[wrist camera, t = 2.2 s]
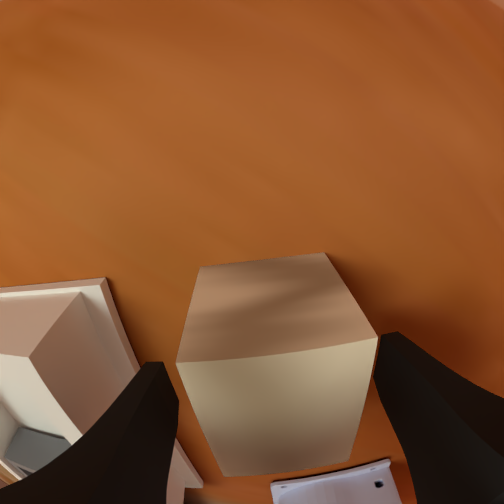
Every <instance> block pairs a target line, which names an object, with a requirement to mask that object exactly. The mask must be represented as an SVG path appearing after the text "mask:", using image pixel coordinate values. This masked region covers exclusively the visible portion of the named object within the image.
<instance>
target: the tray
mask: <svg viewBox="0 0 504 504" xmlns="http://www.w3.org/2000/svg"><path fill="white" fill-rule="evenodd" d="M70 446H72V445H71V444H70V443H69V442H68V440H64V439H59V438H55V437H52V436H48V435H44V434H41V433H37V432H34V431H30V430H27V429H24V428H21V427H18V429H17V431H16V433H15V435H14V437H13V439H12V441H11V443H10V445H9V447H8V449H7V451H6V454H5V456H4V458H5V459H6V460H7V461H8V462H9V463H11V464H12V465H13V466H14V467H15V468H16V469H17V470H18V471H19V472H21V473H22V474H23V475H24V476H25V477H27V476H29V475H31V474H32V473H34V472H36V471H37V470H39V469H41V468H42V467H44V466H45V465H47V464H48V463H50V462H51V461H52V460H54V459H55V458H56V457H58V456H59V455H60V454H62V453H63V452H64V451H66V450H67V449H68V448H69V447H70Z"/></svg>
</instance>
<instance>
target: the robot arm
mask: <svg viewBox="0 0 504 504" xmlns="http://www.w3.org/2000/svg"><path fill="white" fill-rule="evenodd" d="M373 378H374V381H375V384H376V388H377V391H378V394H379V397H380V400H381V403H382V405H383V407H384V409H385V411H386V413H387V416H388V418H389V420H390V422H391V424H392V426H393V429H394V431H395V433H396V435H397V437H398V440H399V442H400V444H401V446H402V448H403V451H404V454H405V456H406V459H407V463H408V466H409V470H410V473H411V477H412V481H413V485H414V489H415V494H416V498H417V504H504V398H502V397H499V396H497V395H495V394H493V393H491V392H489V391H487V390H485V389H483V388H481V387H479V386H477V385H475V384H473V383H472V382H470V381H468V380H467V379H465V378H463V377H462V376H460V375H459V374H457V373H455V372H454V371H452V370H451V369H449V368H448V367H446V366H445V365H443V364H442V363H441V362H439V361H438V360H436V359H435V358H434V357H432V356H431V355H429V354H428V353H427V352H425V351H424V350H423V349H421V348H420V347H418V346H417V345H416V344H414V343H413V342H412V341H410V340H409V339H408V338H406V337H405V336H403V335H402V334H400V333H399V332H398V331H397V332H392V333H388V334H383V335H381V341H380V346H379V351H378V356H377V361H376V366H375V371H374V375H373ZM178 410H179V400H178V397H177V395H176V393H175V390H174V388H173V386H172V383H171V381H170V378H169V376H168V373H167V371H166V369H165V366H164V363H163V362H145V364H144V365H143V366H142V367H141V368H140V370H139V371H138V372H137V373H136V375H135V376H134V377H133V378H132V380H131V381H130V382H129V384H128V385H127V386H126V387H125V389H124V390H123V391H122V392H121V394H120V395H119V396H118V397H117V398H116V400H115V401H114V402H113V403H112V404H111V406H110V407H109V408H108V409H107V410H106V411H105V413H104V414H103V415H102V416H101V417H100V418H99V419H98V420H97V421H96V422H95V424H94V425H93V426H92V427H91V428H90V429H89V430H88V431H87V432H86V433H85V434H84V435H83V436H82V437H81V438H79V439H78V440H77V441H76V442H75V443H74V444H73V445H72V446H70V447H69V448H68V449H67V450H66V451H64V452H63V453H62V454H60V455H59V456H58V457H56V458H55V459H54V460H52V461H51V462H50V463H48V464H47V465H45V466H44V467H42V468H41V469H39V470H37V471H36V472H34V473H32V474H31V475H29V476H27V477H25V478H23V479H21V480H19V481H17V482H15V483H13V484H10V485H8V486H6V487H4V488H1V489H0V504H166V496H167V483H168V476H169V470H170V465H171V459H172V454H173V449H174V443H175V438H176V432H177V426H178ZM390 463H391V462H390V459H384V460H381V461H378V462H374V463H371V464H367V465H364V466H360V467H356V468H352V469H348V470H343V471H339V472H334V473H329V474H324V475H319V476H314V477H308V478H301V479H294V480H287V481H278V482H273V483H271V492H272V497H273V502H274V504H402V503H401V500H400V497H399V494H398V491H397V488H396V485H395V482H394V480H393V477H392V474H391V471H390V468H389V465H390Z"/></svg>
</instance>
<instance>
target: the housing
mask: <svg viewBox="0 0 504 504" xmlns="http://www.w3.org/2000/svg"><path fill="white" fill-rule="evenodd" d="M139 370H140V366H139V364H138V362H137V359H136V357H135V355H134V352H133V350H132V348H131V345H130V343H129V340H128V338H127V336H126V333H125V331H124V328H123V325H122V323H121V320H120V318H119V315H118V312H117V309H116V307H115V304H114V301H113V298H112V295H111V292H110V290H109V287H108V284H107V280H106V277H105V278H95V279H86V280H76V281H66V282H55V283H45V284H35V285H24V286H14V287H3V288H0V464H1V465H2V466H4V467H5V468H6V469H7V470H8V471H9V472H10V473H12V474H13V475H14V476H15V477H16V478H17V479H19V480H21V479H23V478H25V476H24V475H23V474H22V473H21V472H19V471H18V470H17V469H16V468H15V467H14V466H13V465H12V464H11V463H9V462H8V461H7V460H6V459H5V458H4V456H5V454H6V451H7V449H8V447H9V445H10V443H11V441H12V439H13V437H14V435H15V433H16V431H17V429H18V427H21V428H24V429H27V430H30V431H34V432H37V433H41V434H44V435H48V436H52V437H55V438H59V439H64V440H68V442H69V443H70V444H71V445H73V444H74V443H75V442H76V441H77V440H78V439H79V438H81V437H82V436H83V435H84V434H85V433H86V432H87V431H88V430H89V429H90V428H91V427H92V426H93V425H94V424H95V422H96V421H97V420H98V419H99V418H100V417H101V416H102V415H103V414H104V413H105V411H106V410H107V409H108V408H109V407H110V406H111V404H112V403H113V402H114V401H115V400H116V398H117V397H118V396H119V395H120V394H121V392H122V391H123V390H124V389H125V387H126V386H127V385H128V384H129V382H130V381H131V380H132V378H133V377H134V376H135V375H136V373H137V372H138V371H139ZM185 487H186V488H203V481H202V479H201V478H200V476H199V475H198V473H197V471H196V470H195V468H194V467H193V465H192V464H191V462H190V460H189V459H188V457H187V456H186V454H185V452H184V451H183V449H182V447H181V446H180V444H179V442H178V440H177V439H176V438H175V443H174V449H173V454H172V459H171V465H170V470H169V476H168V483H167V496H166V504H183V501H184V490H185Z"/></svg>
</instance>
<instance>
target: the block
mask: <svg viewBox="0 0 504 504" xmlns="http://www.w3.org/2000/svg"><path fill="white" fill-rule="evenodd" d="M377 341H378V336H377V335H376V333H375V331H374V330H373V328H372V326H371V325H370V323H369V321H368V320H367V318H366V317H365V315H364V313H363V312H362V310H361V309H360V307H359V305H358V304H357V302H356V301H355V299H354V297H353V296H352V294H351V293H350V291H349V290H348V288H347V286H346V285H345V283H344V282H343V280H342V279H341V277H340V276H339V274H338V273H337V271H336V270H335V268H334V267H333V265H332V264H331V262H330V261H329V259H328V258H327V256H326V255H325V253H324V252H323V253H315V254H306V255H298V256H289V257H281V258H272V259H264V260H255V261H246V262H238V263H229V264H220V265H211V266H202V267H200V269H199V273H198V276H197V280H196V284H195V288H194V291H193V295H192V299H191V303H190V306H189V310H188V314H187V318H186V322H185V326H184V330H183V334H182V338H181V342H180V346H179V350H178V355H177V359H176V365H177V368H178V371H179V374H180V376H181V379H182V382H183V384H184V387H185V389H186V392H187V395H188V397H189V400H190V402H191V405H192V407H193V409H194V412H195V414H196V417H197V419H198V421H199V424H200V426H201V428H202V431H203V433H204V435H205V438H206V440H207V442H208V444H209V446H210V449H211V451H212V453H213V455H214V457H215V459H216V461H217V463H218V465H219V467H220V470H221V472H222V474H223V476H224V477H232V476H251V475H264V474H274V473H283V472H290V471H297V470H304V469H310V468H316V467H321V466H327V465H331V464H336V463H341V462H345V461H348V460H349V457H350V453H351V450H352V447H353V444H354V440H355V437H356V433H357V430H358V426H359V423H360V419H361V415H362V411H363V407H364V403H365V399H366V395H367V391H368V386H369V382H370V377H371V373H372V368H373V363H374V357H375V352H376V346H377Z"/></svg>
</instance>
